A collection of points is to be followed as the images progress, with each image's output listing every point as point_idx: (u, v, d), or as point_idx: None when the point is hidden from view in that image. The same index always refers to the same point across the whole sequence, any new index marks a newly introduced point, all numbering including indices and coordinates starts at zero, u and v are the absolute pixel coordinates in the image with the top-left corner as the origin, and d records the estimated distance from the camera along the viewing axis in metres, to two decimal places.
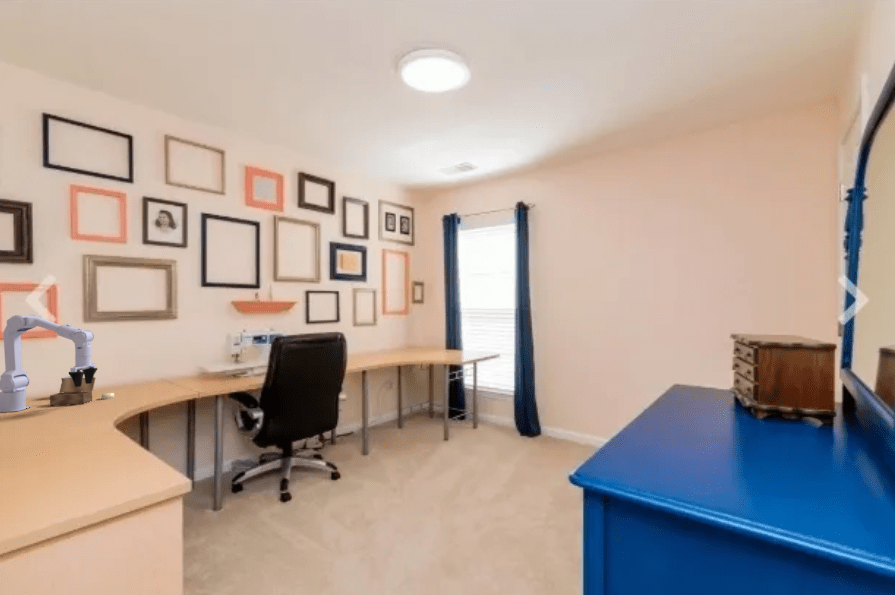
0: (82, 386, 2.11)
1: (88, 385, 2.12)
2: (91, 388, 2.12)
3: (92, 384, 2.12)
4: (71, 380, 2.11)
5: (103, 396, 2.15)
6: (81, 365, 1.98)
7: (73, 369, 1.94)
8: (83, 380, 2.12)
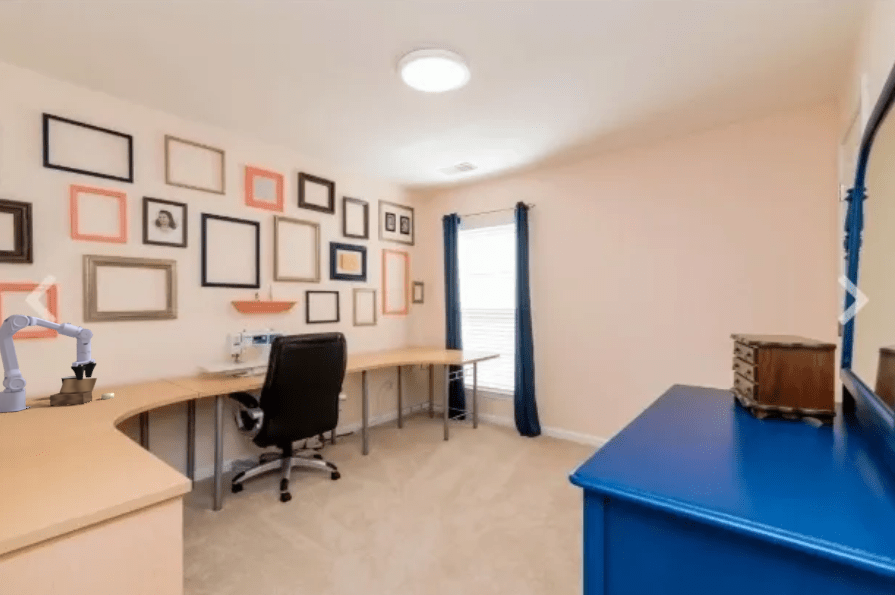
0: (83, 386, 2.12)
1: (89, 385, 2.12)
2: (91, 388, 2.12)
3: (93, 384, 2.13)
4: (72, 381, 2.12)
5: (103, 396, 2.15)
6: (82, 360, 2.14)
7: (74, 364, 2.09)
8: (84, 381, 2.13)
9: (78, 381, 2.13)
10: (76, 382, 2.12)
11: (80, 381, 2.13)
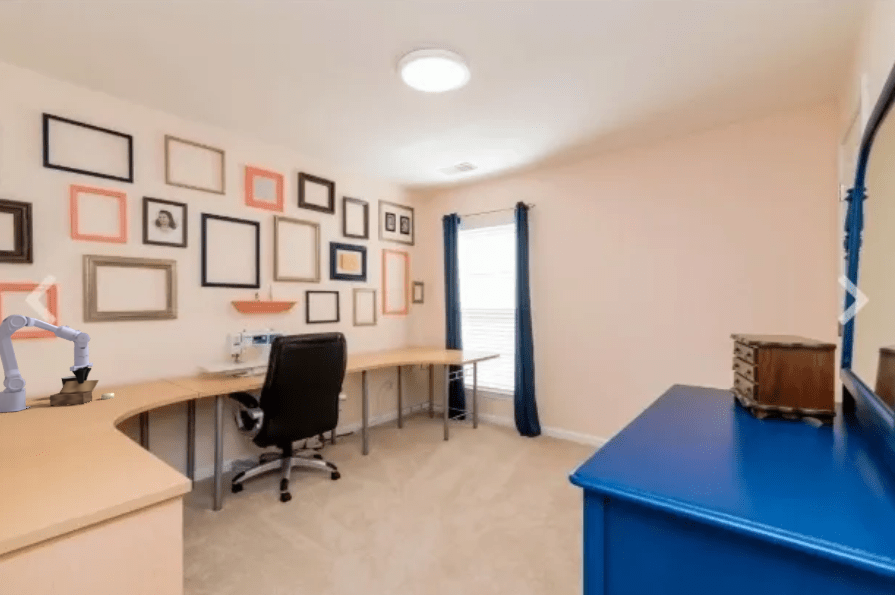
0: (83, 387, 2.12)
1: (89, 386, 2.13)
2: (92, 388, 2.12)
3: (94, 385, 2.14)
4: (74, 382, 2.14)
5: (103, 396, 2.15)
6: (79, 364, 2.12)
7: (72, 368, 2.08)
8: (86, 382, 2.14)
9: (80, 383, 2.14)
10: None
11: (82, 383, 2.14)
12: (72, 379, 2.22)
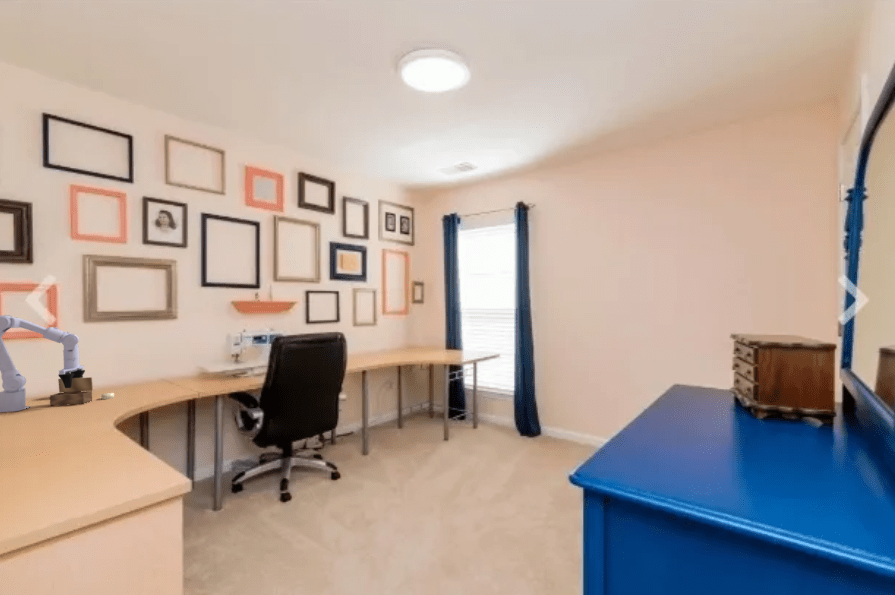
0: (81, 386, 2.10)
1: (86, 385, 2.11)
2: (90, 388, 2.11)
3: (90, 384, 2.11)
4: None
5: (103, 396, 2.15)
6: (69, 367, 2.05)
7: (61, 371, 2.00)
8: (80, 380, 2.10)
9: (74, 381, 2.09)
10: (72, 382, 2.09)
11: (76, 381, 2.10)
12: None
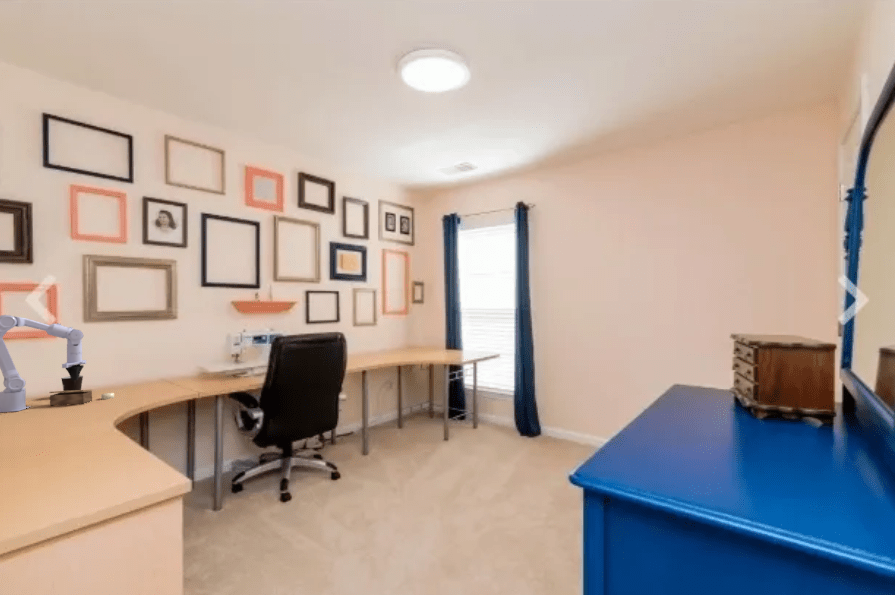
0: None
1: None
2: (89, 390, 2.10)
3: None
4: (60, 392, 2.04)
5: (103, 396, 2.15)
6: (72, 361, 2.10)
7: (64, 365, 2.05)
8: (73, 391, 2.05)
9: None
10: None
11: None
12: None
